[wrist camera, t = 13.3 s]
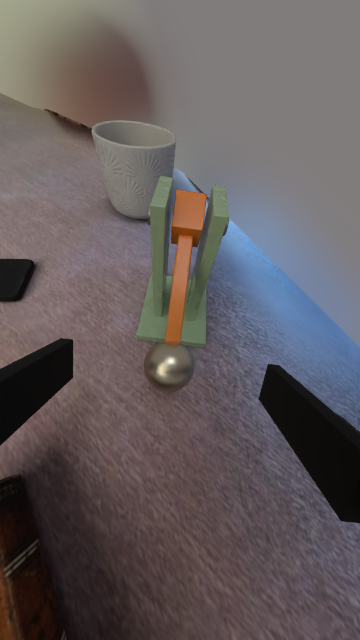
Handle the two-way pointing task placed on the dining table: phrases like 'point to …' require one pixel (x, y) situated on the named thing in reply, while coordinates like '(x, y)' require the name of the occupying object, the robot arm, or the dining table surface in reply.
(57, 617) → the book
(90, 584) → the dining table surface
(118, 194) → the planter
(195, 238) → the switch lever
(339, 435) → the robot arm
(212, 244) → the switch bracket
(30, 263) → the smartphone
